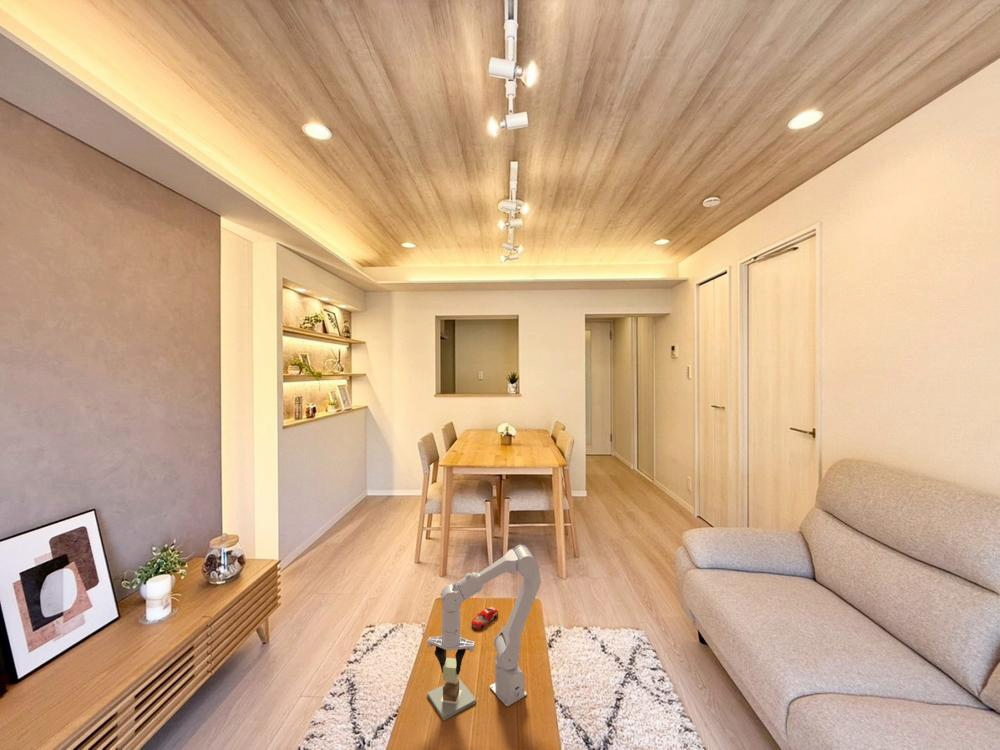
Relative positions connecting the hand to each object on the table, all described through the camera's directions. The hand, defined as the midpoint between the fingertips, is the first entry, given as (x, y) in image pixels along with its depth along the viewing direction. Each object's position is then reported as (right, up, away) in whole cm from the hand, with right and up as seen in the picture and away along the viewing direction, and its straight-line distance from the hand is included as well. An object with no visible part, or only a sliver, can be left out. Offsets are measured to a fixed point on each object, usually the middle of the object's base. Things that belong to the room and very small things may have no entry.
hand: (451, 671), depth 121 cm
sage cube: (0, -1, 0) cm, 1 cm away
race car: (+9, -10, +39) cm, 41 cm away
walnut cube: (0, -7, 0) cm, 7 cm away
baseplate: (0, -9, 0) cm, 8 cm away
